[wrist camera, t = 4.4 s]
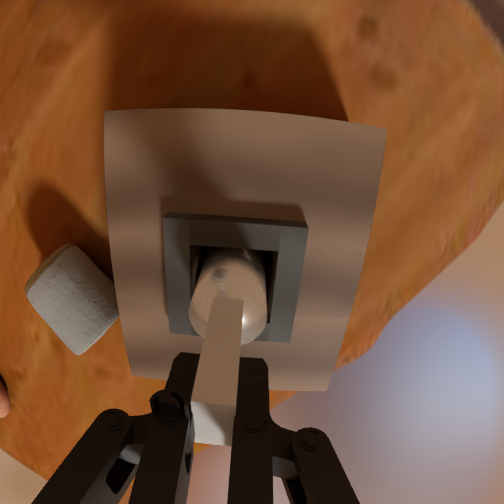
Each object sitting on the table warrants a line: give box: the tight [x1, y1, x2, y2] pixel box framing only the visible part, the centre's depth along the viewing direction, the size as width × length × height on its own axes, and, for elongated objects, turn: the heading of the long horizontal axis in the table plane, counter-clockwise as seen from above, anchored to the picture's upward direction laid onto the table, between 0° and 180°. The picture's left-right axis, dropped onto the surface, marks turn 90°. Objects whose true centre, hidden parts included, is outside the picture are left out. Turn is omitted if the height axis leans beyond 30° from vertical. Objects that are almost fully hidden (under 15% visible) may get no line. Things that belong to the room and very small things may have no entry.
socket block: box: [104, 108, 387, 391], centre depth 23 cm, size 20×16×9 cm
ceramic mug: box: [25, 244, 119, 355], centre depth 27 cm, size 11×8×8 cm
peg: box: [189, 246, 267, 345], centre depth 20 cm, size 4×4×8 cm
